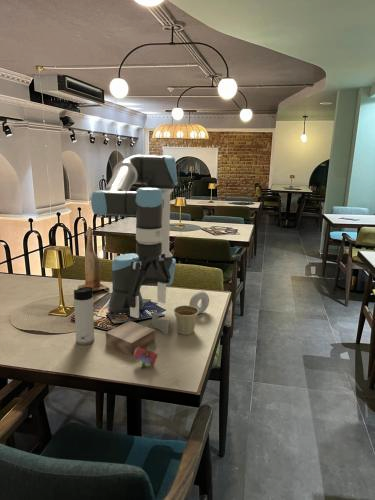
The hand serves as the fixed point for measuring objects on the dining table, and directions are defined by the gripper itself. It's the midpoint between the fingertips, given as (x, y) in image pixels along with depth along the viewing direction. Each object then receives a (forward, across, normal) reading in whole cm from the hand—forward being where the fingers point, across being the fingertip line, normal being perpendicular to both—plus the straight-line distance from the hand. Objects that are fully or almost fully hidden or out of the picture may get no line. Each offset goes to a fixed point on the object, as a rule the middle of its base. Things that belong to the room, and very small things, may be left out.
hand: (148, 309), depth 113 cm
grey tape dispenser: (+19, +22, +12) cm, 31 cm away
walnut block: (+19, +7, +13) cm, 25 cm away
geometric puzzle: (+19, -1, 0) cm, 19 cm away
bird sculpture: (+19, +37, +61) cm, 74 cm away
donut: (+19, +43, +6) cm, 48 cm away
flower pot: (+19, +26, +2) cm, 33 cm away
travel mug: (+19, 0, +28) cm, 34 cm away
